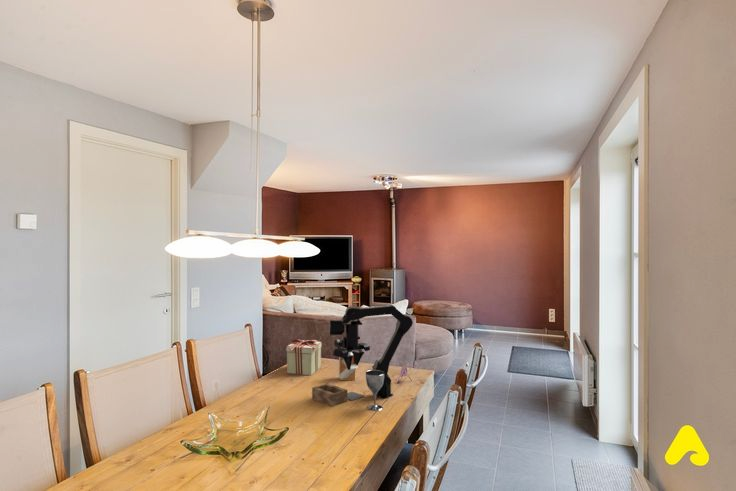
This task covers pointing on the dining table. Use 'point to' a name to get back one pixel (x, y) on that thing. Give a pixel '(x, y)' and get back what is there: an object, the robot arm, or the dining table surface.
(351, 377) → the small box
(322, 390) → the rectangular frame
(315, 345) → the gift box
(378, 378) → the wine glass
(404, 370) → the lily
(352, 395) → the mat
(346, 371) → the block
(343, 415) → the dining table surface
